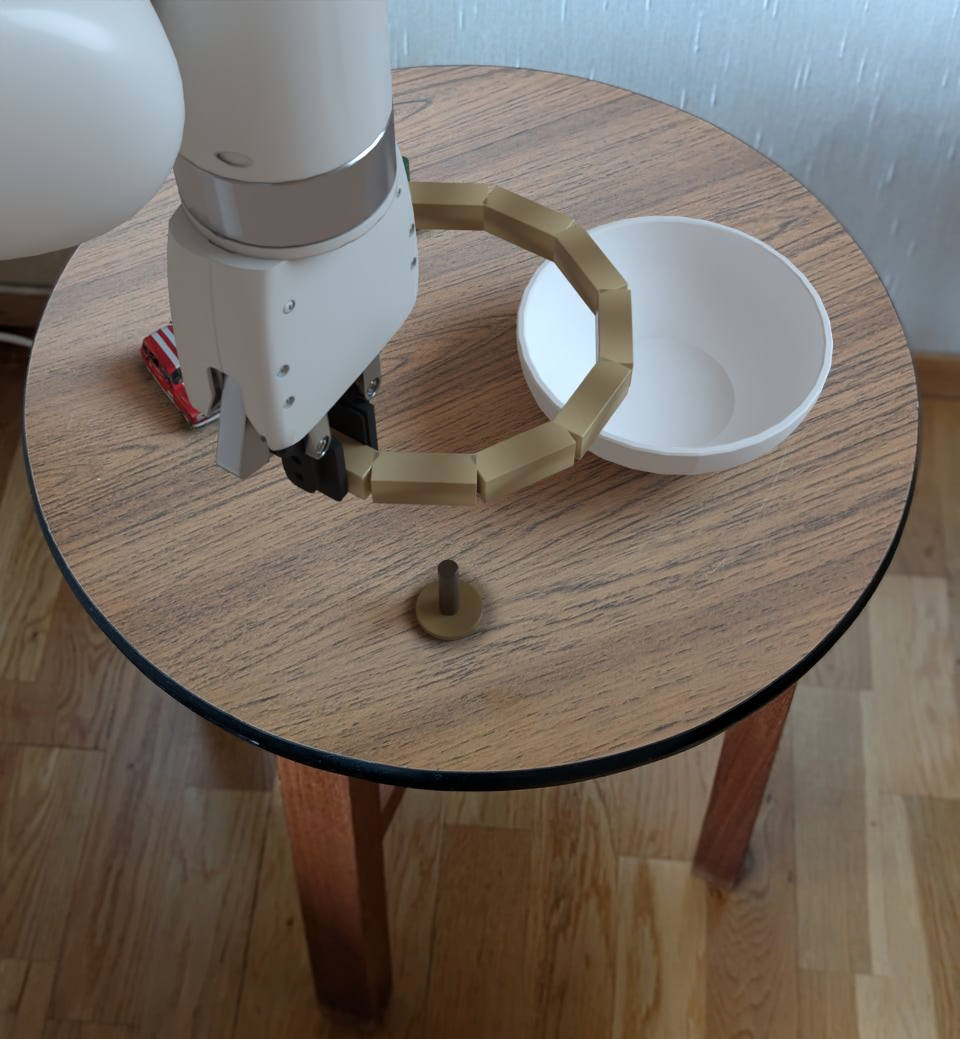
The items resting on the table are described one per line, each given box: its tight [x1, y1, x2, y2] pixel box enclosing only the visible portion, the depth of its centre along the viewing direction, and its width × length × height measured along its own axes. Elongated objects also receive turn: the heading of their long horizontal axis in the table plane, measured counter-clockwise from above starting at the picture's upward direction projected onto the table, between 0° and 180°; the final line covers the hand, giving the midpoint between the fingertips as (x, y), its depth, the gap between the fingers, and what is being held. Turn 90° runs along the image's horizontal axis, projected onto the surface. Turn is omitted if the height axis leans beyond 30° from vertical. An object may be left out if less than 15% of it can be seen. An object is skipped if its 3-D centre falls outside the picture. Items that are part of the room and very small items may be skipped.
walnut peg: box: [415, 558, 484, 641], centre depth 78 cm, size 4×4×5 cm
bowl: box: [516, 215, 834, 476], centre depth 85 cm, size 20×20×7 cm
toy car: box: [139, 319, 221, 429], centre depth 88 cm, size 4×8×3 cm, turn 36°
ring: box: [330, 181, 634, 507], centre depth 64 cm, size 19×19×2 cm
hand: (331, 464), depth 60 cm, fingers closed on ring, 1 cm apart
